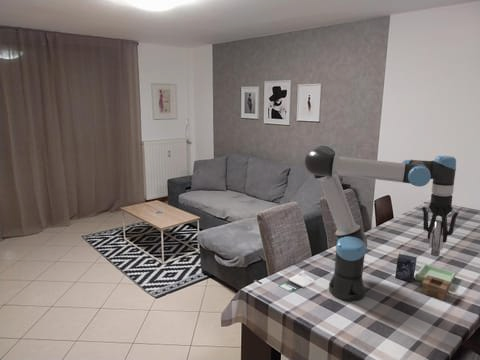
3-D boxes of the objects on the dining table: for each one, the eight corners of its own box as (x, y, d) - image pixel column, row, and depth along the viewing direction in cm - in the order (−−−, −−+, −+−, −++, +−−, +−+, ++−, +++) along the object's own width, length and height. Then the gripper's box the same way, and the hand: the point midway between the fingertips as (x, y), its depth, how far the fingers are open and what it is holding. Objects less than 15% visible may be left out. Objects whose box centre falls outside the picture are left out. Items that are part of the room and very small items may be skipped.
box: (394, 278, 164) (397, 257, 162) (396, 273, 169) (398, 253, 167) (413, 282, 160) (416, 261, 158) (414, 277, 165) (416, 256, 163)
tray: (447, 290, 154) (448, 284, 154) (414, 279, 163) (415, 274, 162) (454, 277, 166) (455, 272, 165) (423, 268, 174) (424, 263, 174)
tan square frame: (443, 300, 146) (445, 289, 145) (420, 292, 152) (422, 282, 151) (448, 292, 153) (450, 281, 151) (426, 285, 158) (427, 275, 157)
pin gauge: (438, 257, 145) (442, 222, 141) (429, 254, 147) (433, 221, 144) (440, 254, 147) (444, 220, 144) (432, 252, 149) (435, 219, 146)
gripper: (467, 195, 139) (460, 250, 143) (423, 189, 149) (418, 240, 154) (463, 199, 133) (456, 256, 138) (417, 192, 144) (412, 245, 149)
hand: (436, 247), depth 146 cm, fingers closed on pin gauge, 3 cm apart
